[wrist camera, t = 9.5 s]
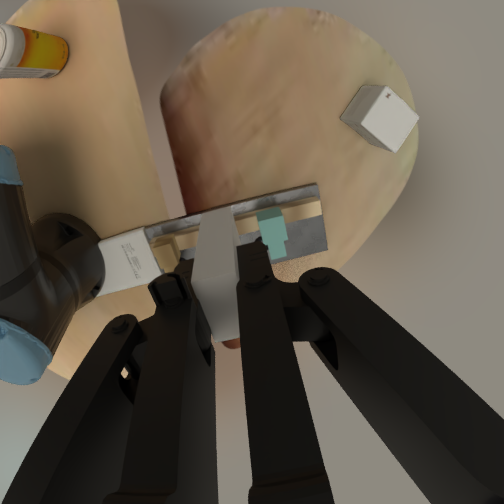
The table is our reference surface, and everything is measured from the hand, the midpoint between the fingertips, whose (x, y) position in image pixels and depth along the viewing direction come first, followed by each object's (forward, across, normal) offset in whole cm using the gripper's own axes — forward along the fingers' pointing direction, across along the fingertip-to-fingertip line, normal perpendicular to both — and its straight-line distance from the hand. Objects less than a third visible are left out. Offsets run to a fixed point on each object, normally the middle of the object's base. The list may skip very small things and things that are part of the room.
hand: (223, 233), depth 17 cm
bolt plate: (+26, -1, -12) cm, 29 cm away
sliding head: (+25, +4, -11) cm, 28 cm away
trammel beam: (+25, -1, -11) cm, 28 cm away
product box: (+27, +20, +1) cm, 33 cm away
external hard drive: (+27, -19, -11) cm, 35 cm away
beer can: (+27, -19, +21) cm, 39 cm away
